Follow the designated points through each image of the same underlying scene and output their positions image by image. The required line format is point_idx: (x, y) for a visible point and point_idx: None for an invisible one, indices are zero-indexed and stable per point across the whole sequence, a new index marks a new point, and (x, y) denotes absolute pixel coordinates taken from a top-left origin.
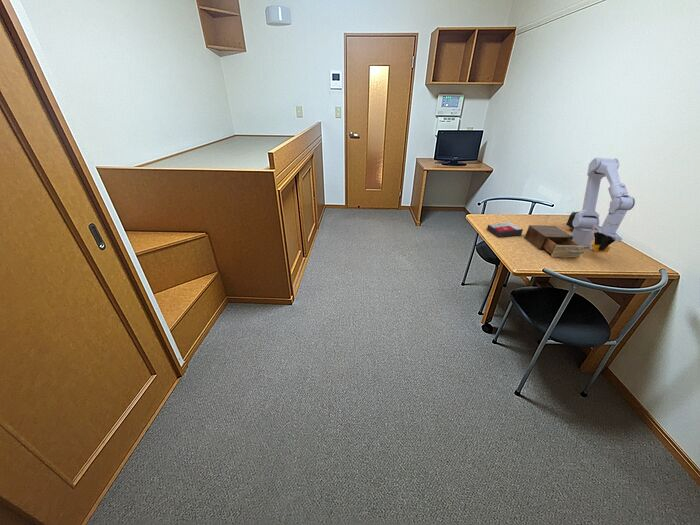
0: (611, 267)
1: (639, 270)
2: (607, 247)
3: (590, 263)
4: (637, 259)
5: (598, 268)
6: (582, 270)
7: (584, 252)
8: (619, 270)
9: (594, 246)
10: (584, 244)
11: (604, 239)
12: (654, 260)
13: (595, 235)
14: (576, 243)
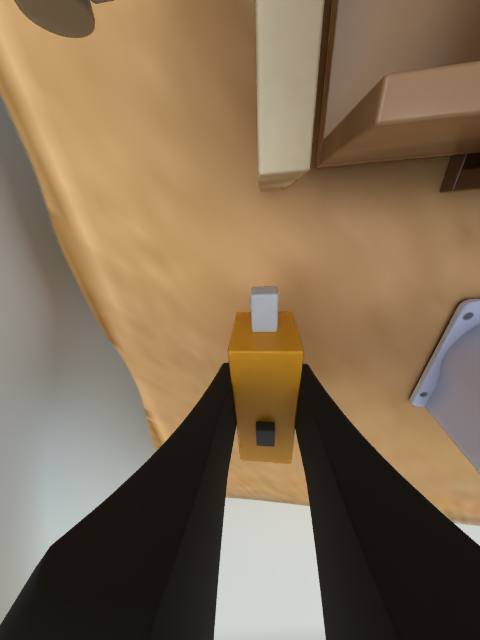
0: (163, 347)
1: (167, 429)
2: (238, 439)
3: (187, 251)
4: (262, 473)
5: (121, 260)
6: (8, 52)
7: (22, 11)
8: (139, 362)
9: (256, 347)
10: (449, 384)
11: (71, 566)
12: (257, 499)
13: (436, 560)
14: (443, 89)
